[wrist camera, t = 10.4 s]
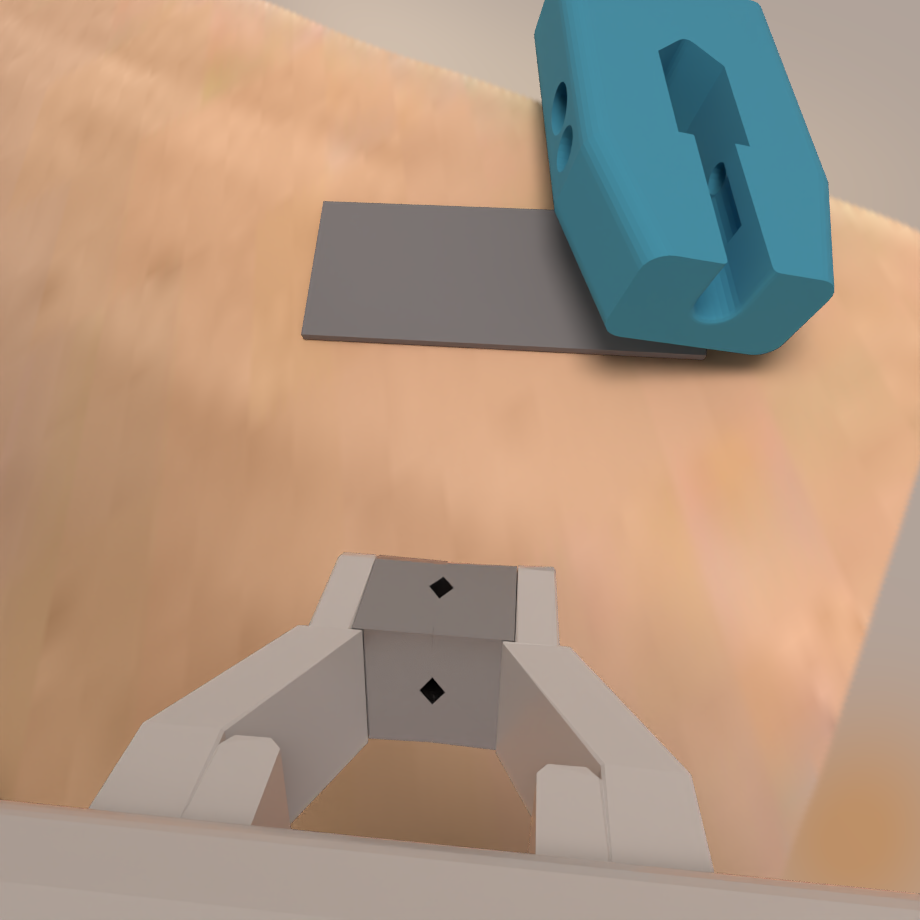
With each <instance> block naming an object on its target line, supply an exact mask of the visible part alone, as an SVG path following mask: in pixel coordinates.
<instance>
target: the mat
mask: <svg viewBox="0 0 920 920" xmlns="http://www.w3.org/2000/svg"><path fill="white" fill-rule="evenodd" d="M301 335H302V337H303V338H304V339H313V340H332V341H352V342H371V343H390V344H409V345H428V346H448V347H467V348H486V349H505V350H525V351H544V352H563V353H582V354H601V355H621V356H640V357H659V358H678V359H698V360H704V358H705V357H706V348H698V347H691V346H684V345H676V344H669V343H662V342H655V341H647V340H640V339H633V338H625V337H619V336H615V335H613V334H611V333H609V332H608V331H607V329H606V327H605V325H604V322H603V320H602V318H601V316H600V313H599V311H598V309H597V306H596V304H595V302H594V300H593V297H592V295H591V293H590V291H589V288H588V286H587V284H586V282H585V279H584V277H583V275H582V273H581V270H580V268H579V266H578V263H577V261H576V259H575V257H574V254H573V252H572V250H571V248H570V245H569V243H568V241H567V239H566V236H565V234H564V232H563V230H562V227H561V225H560V223H559V220H558V218H557V216H556V214H555V210H542V209H515V208H489V207H462V206H436V205H409V204H383V203H356V202H330V201H324V202H323V207H322V213H321V219H320V225H319V231H318V237H317V243H316V249H315V255H314V261H313V267H312V273H311V279H310V285H309V291H308V297H307V303H306V309H305V315H304V321H303V327H302V333H301Z"/></svg>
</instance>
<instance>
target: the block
mask: <svg viewBox="0 0 920 920" xmlns="http://www.w3.org/2000/svg"><path fill="white" fill-rule="evenodd" d="M534 38H535V47H536V55H537V64H538V72H539V81H540V90H541V98H542V107H543V116H544V124H545V133H546V141H547V150H548V159H549V167H550V176H551V184H552V193H553V202H554V210H555V214H556V216H557V218H558V220H559V223H560V225H561V227H562V230H563V232H564V234H565V236H566V239H567V241H568V243H569V245H570V248H571V250H572V252H573V254H574V257H575V259H576V261H577V263H578V266H579V268H580V270H581V273H582V275H583V277H584V279H585V282H586V284H587V286H588V288H589V291H590V293H591V295H592V297H593V300H594V302H595V304H596V306H597V309H598V311H599V313H600V316H601V318H602V320H603V322H604V325H605V327H606V329H607V331H608V332H609V333H611V334H613V335H615V336H619V337H625V338H633V339H640V340H647V341H655V342H662V343H669V344H676V345H684V346H691V347H698V348H706V349H713V350H720V351H727V352H735V353H742V354H749V355H758V354H764V353H768V352H771V351H773V350H775V349H777V348H779V347H780V346H781V345H783V344H784V343H785V342H786V341H787V340H788V339H789V338H790V337H791V336H792V335H793V334H794V333H795V332H796V331H797V330H798V329H799V328H801V327H802V326H803V325H804V324H805V323H806V322H807V321H808V320H809V319H810V318H811V317H812V316H813V315H814V314H815V313H816V312H817V311H818V310H819V309H820V308H821V307H822V306H823V305H825V304H826V303H827V302H828V301H829V300H830V298H831V297H832V296H833V293H834V276H833V259H832V241H831V223H830V205H829V189H828V181H827V178H826V175H825V173H824V170H823V168H822V165H821V162H820V160H819V157H818V155H817V152H816V149H815V147H814V144H813V142H812V139H811V136H810V134H809V132H808V129H807V126H806V123H805V121H804V118H803V115H802V113H801V110H800V108H799V105H798V102H797V100H796V97H795V95H794V92H793V89H792V87H791V84H790V82H789V79H788V76H787V74H786V71H785V69H784V66H783V63H782V61H781V58H780V56H779V53H778V50H777V48H776V45H775V42H774V40H773V37H772V35H771V32H770V30H769V27H768V24H767V22H766V19H765V16H764V14H763V12H762V9H761V6H760V5H759V4H758V3H756V2H754V1H751V0H545V2H544V4H543V7H542V11H541V14H540V17H539V20H538V23H537V26H536V29H535V34H534Z"/></svg>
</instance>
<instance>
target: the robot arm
mask: <svg viewBox="0 0 920 920" xmlns="http://www.w3.org/2000/svg"><path fill="white" fill-rule="evenodd" d="M368 738H372V739H388V740H403V741H419V742H433V743H442V744H450V745H458V746H467V747H475V748H483V749H492V750H496V754H497V756H498V758H499V760H500V762H501V763H502V765H503V767H504V769H505V771H506V772H507V774H508V776H509V778H510V780H511V781H512V783H513V785H514V787H515V789H516V790H517V792H518V794H519V796H520V798H521V799H522V801H523V803H524V805H525V807H526V808H527V810H528V812H529V814H530V816H531V817H532V820H531V829H530V838H529V847H528V853H519V852H509V851H499V850H490V849H480V848H470V847H460V846H450V845H441V844H431V843H421V842H411V841H401V840H392V839H382V838H372V837H362V836H352V835H342V834H333V833H323V832H313V831H303V830H293V829H291V826H290V824H291V823H292V822H293V821H294V820H295V819H296V818H297V817H298V815H299V814H300V813H301V812H302V811H303V810H304V809H305V808H306V807H307V806H308V805H309V804H310V803H311V802H312V801H313V800H314V799H315V798H316V797H317V795H318V794H319V793H320V792H321V791H322V790H323V789H324V788H325V787H326V786H327V785H328V784H329V783H330V782H331V781H332V780H333V779H334V778H335V776H336V775H337V774H338V773H339V772H340V771H341V770H342V769H343V768H344V767H345V766H346V765H347V764H348V763H349V762H350V761H351V760H352V759H353V757H354V756H355V755H356V754H357V753H358V752H359V751H360V750H361V749H362V748H363V747H364V746H365V745H366V744H367V743H368ZM0 920H920V894H919V893H909V892H898V891H889V890H880V889H870V888H859V887H850V886H840V885H829V884H820V883H810V882H800V881H791V880H781V879H771V878H761V877H751V876H741V875H731V874H722V873H714V869H713V865H712V860H711V856H710V852H709V848H708V843H707V839H706V835H705V831H704V827H703V822H702V818H701V814H700V810H699V806H698V801H697V797H696V793H695V789H694V784H693V780H692V776H691V774H690V773H689V772H688V771H687V770H686V769H685V768H684V767H683V766H682V765H681V763H680V762H679V761H678V760H677V759H676V758H675V757H674V756H673V755H672V754H671V753H670V752H669V751H668V750H667V749H666V748H665V747H664V745H663V744H662V743H661V742H660V741H659V740H658V739H657V738H656V737H655V736H654V735H653V734H652V733H651V732H650V731H649V730H648V729H647V727H646V726H645V725H644V724H643V723H642V722H641V721H640V720H639V719H638V718H637V717H636V716H635V715H634V714H633V713H632V712H631V711H630V709H629V708H628V707H627V706H626V705H625V704H624V703H623V702H622V701H621V700H620V699H619V698H618V697H617V696H616V695H615V694H614V693H613V691H612V690H611V689H610V688H609V687H608V686H607V685H606V684H605V683H604V682H603V681H602V680H601V679H600V678H599V677H598V676H597V675H596V673H595V672H594V671H593V670H592V669H591V668H590V667H589V666H588V665H587V664H586V663H585V662H584V661H583V660H582V659H581V658H580V657H579V655H578V654H577V653H576V652H575V651H574V650H573V649H572V648H571V647H565V646H560V644H559V625H558V606H557V587H556V571H555V569H554V568H553V567H542V566H518V569H517V566H503V565H486V564H470V563H453V562H448V561H439V560H428V559H417V558H407V557H396V556H385V555H379V556H377V555H374V554H360V553H347V552H344V553H343V554H341V555H340V556H339V557H338V559H337V561H336V563H335V566H334V568H333V570H332V573H331V575H330V577H329V580H328V582H327V584H326V587H325V589H324V591H323V593H322V596H321V598H320V600H319V603H318V605H317V607H316V610H315V612H314V614H313V617H312V619H311V621H310V623H309V626H305V625H297V626H296V627H294V628H293V629H291V630H289V631H288V632H286V633H285V634H283V635H282V636H280V637H278V638H277V639H275V640H274V641H272V642H270V643H269V644H267V645H266V646H264V647H262V648H261V649H259V650H258V651H256V652H255V653H253V654H251V655H250V656H248V657H247V658H245V659H243V660H242V661H240V662H239V663H237V664H236V665H234V666H232V667H231V668H229V669H228V670H226V671H224V672H223V673H221V674H220V675H218V676H216V677H215V678H213V679H212V680H210V681H209V682H207V683H205V684H204V685H202V686H201V687H199V688H197V689H196V690H194V691H193V692H191V693H189V694H188V695H186V696H185V697H183V698H182V699H180V700H178V701H177V702H175V703H174V704H172V705H170V706H169V707H167V708H166V709H164V710H162V711H161V712H159V713H158V714H156V715H155V716H153V717H151V718H150V719H148V720H147V721H145V722H143V724H142V725H141V727H140V728H139V730H138V731H137V733H136V735H135V736H134V738H133V739H132V741H131V742H130V744H129V746H128V747H127V749H126V750H125V752H124V753H123V755H122V757H121V758H120V760H119V761H118V763H117V764H116V766H115V768H114V769H113V771H112V772H111V774H110V775H109V777H108V779H107V780H106V782H105V783H104V785H103V786H102V788H101V790H100V791H99V793H98V794H97V796H96V797H95V799H94V801H93V802H92V804H91V805H90V807H89V808H78V807H68V806H58V805H49V804H39V803H29V802H19V801H9V800H0Z"/></svg>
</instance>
